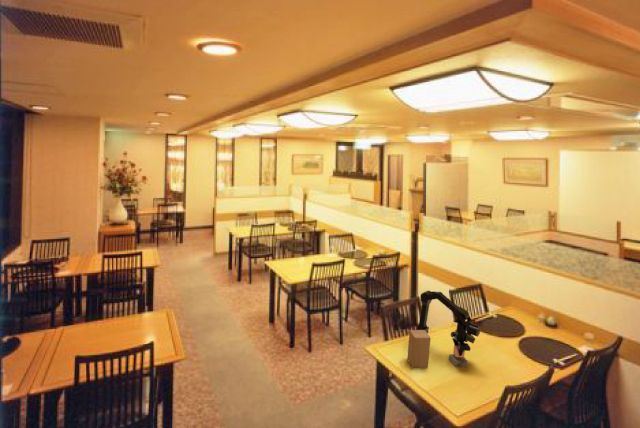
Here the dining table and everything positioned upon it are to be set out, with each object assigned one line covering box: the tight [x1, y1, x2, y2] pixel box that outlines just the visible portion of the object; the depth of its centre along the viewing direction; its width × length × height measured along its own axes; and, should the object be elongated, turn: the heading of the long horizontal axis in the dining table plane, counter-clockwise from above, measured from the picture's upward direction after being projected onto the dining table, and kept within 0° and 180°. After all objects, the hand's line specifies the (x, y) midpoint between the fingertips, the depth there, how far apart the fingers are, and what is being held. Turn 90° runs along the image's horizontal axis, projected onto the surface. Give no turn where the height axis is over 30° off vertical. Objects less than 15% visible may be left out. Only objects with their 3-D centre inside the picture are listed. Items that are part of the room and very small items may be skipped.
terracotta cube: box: [452, 345, 466, 358], centre depth 226 cm, size 5×5×5 cm
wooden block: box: [406, 329, 432, 369], centre depth 223 cm, size 10×10×20 cm
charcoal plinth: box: [448, 353, 468, 368], centre depth 227 cm, size 8×8×4 cm
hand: (458, 353), depth 226 cm, fingers closed on terracotta cube, 5 cm apart
